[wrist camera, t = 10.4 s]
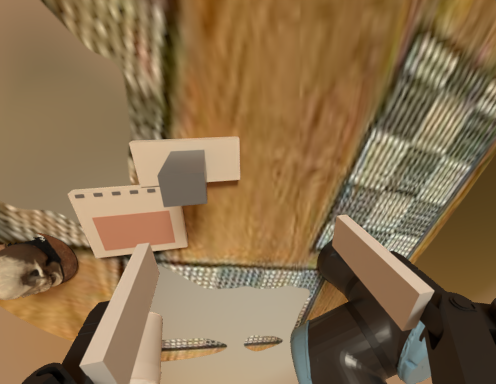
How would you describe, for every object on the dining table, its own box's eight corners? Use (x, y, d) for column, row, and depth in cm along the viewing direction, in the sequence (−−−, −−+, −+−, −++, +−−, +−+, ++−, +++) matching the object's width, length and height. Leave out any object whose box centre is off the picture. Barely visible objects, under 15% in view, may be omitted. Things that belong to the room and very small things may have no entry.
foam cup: (131, 305, 46) (106, 377, 34) (173, 309, 49) (163, 376, 37) (123, 331, 49) (98, 405, 37) (163, 333, 52) (151, 402, 40)
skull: (94, 276, 39) (26, 327, 32) (72, 259, 45) (10, 300, 37) (55, 228, 33) (-39, 278, 26) (35, 215, 39) (-47, 253, 31)
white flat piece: (188, 241, 41) (187, 247, 39) (99, 252, 38) (95, 258, 37) (178, 182, 35) (176, 186, 34) (73, 189, 32) (67, 194, 31)
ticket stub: (238, 176, 37) (251, 209, 26) (143, 183, 34) (116, 223, 24) (237, 136, 33) (252, 156, 23) (132, 140, 31) (96, 165, 21)
